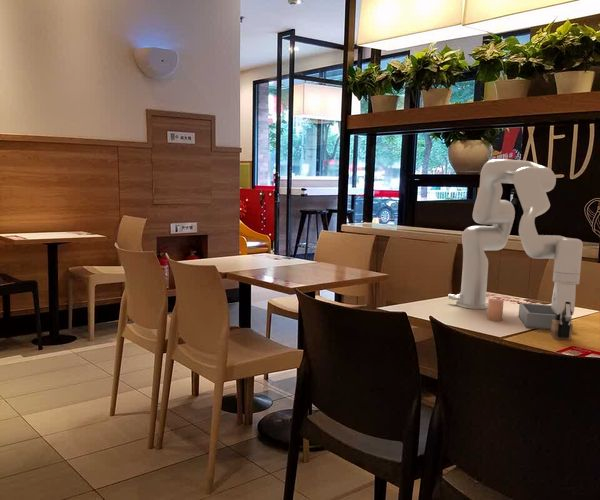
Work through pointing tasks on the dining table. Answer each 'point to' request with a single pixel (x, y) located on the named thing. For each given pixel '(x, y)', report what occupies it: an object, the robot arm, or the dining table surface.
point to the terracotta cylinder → (495, 309)
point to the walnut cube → (555, 330)
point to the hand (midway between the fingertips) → (561, 334)
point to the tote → (536, 316)
